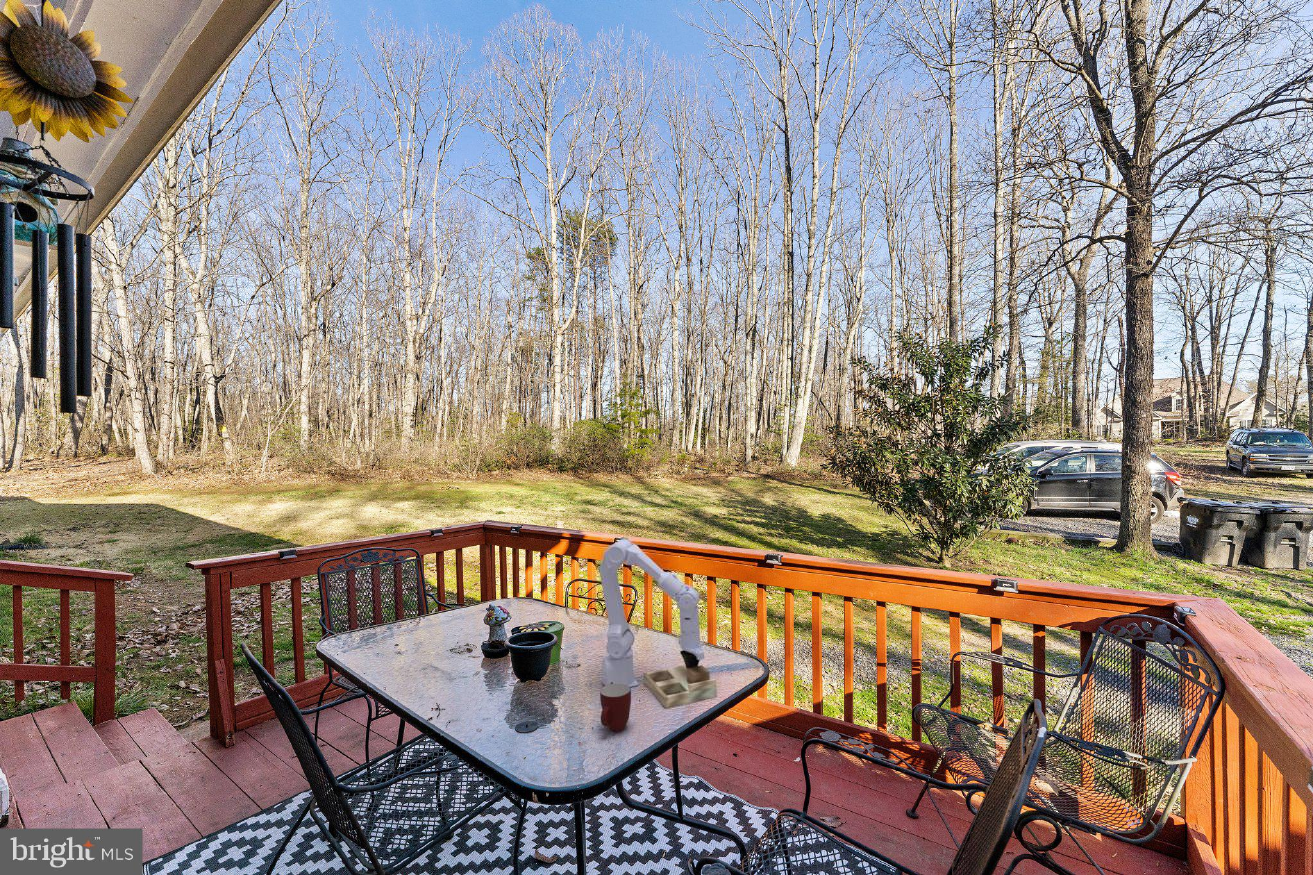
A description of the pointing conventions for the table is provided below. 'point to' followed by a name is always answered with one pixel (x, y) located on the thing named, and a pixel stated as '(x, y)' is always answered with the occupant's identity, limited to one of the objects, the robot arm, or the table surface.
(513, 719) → the table surface
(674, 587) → the robot arm
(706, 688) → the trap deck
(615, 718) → the mug
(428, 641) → the table surface
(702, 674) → the walnut block
